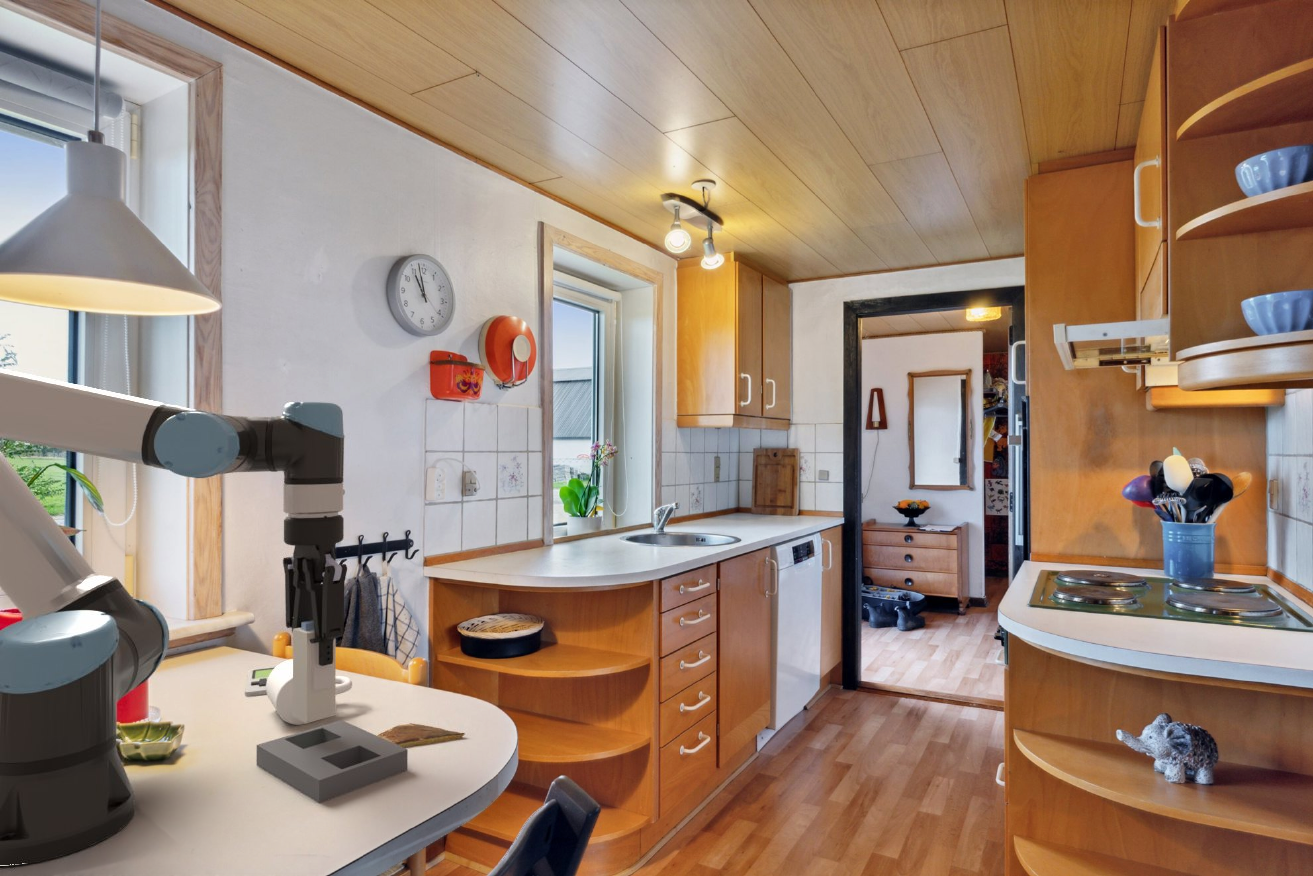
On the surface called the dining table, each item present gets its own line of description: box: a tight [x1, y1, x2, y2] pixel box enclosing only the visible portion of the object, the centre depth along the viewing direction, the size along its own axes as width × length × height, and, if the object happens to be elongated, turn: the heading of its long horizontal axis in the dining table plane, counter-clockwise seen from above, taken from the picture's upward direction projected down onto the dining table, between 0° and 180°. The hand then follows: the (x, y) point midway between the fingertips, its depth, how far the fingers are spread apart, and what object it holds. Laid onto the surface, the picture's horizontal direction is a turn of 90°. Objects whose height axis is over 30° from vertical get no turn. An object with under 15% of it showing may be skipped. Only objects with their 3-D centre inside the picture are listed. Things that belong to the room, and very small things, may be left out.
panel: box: [256, 719, 408, 804], centre depth 102 cm, size 12×17×3 cm
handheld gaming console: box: [244, 665, 277, 698], centre depth 140 cm, size 10×2×15 cm
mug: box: [266, 658, 353, 726], centre depth 124 cm, size 12×10×8 cm
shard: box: [376, 722, 466, 748], centre depth 111 cm, size 11×8×2 cm
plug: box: [292, 620, 337, 724], centre depth 105 cm, size 4×4×13 cm
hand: (313, 684), depth 105 cm, fingers closed on plug, 4 cm apart
